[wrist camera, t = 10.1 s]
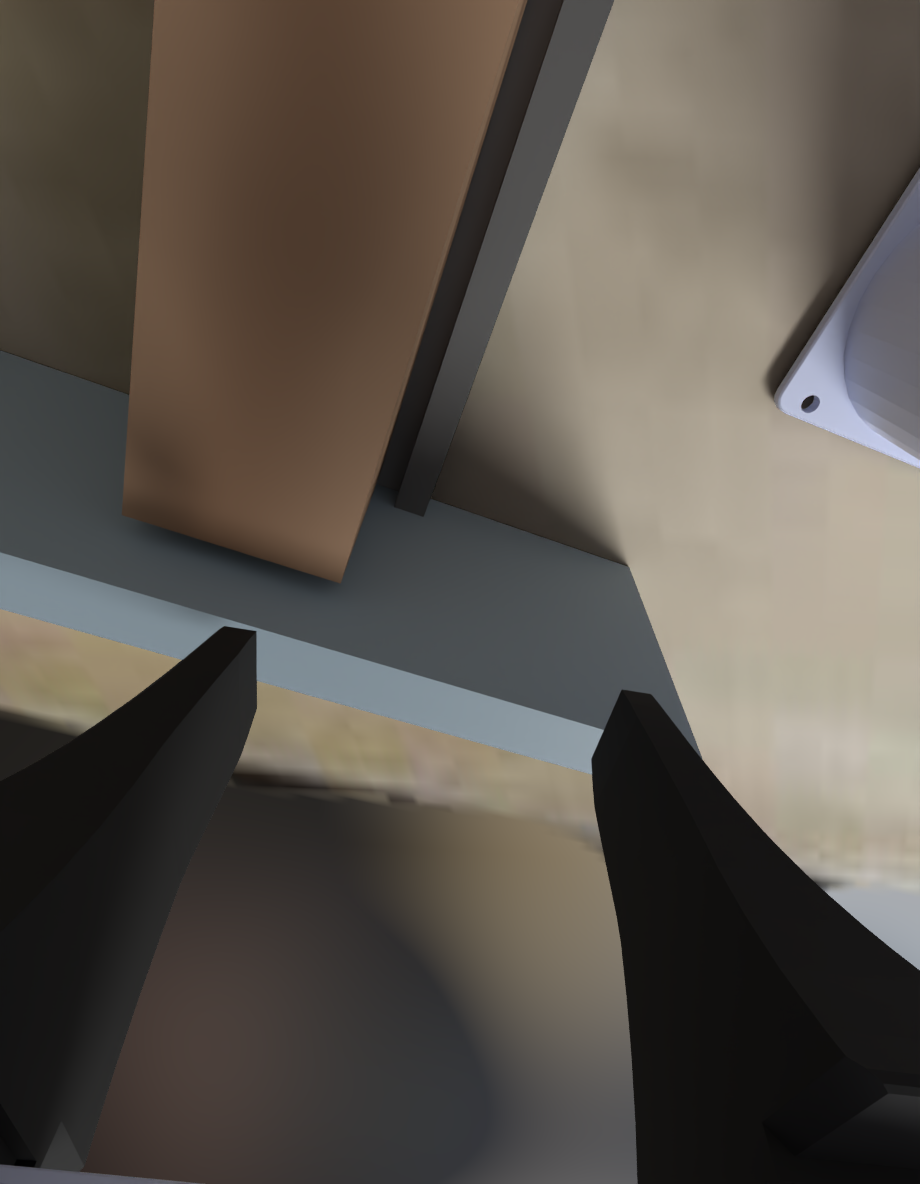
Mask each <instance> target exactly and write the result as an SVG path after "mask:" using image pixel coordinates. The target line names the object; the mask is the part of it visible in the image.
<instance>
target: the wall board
mask: <svg viewBox="0 0 920 1184" xmlns="http://www.w3.org/2000/svg"><path fill="white" fill-rule="evenodd" d="M613 2H614V0H528V1H527V4H526V7H525V10H524V13H523V17H522V20H521V23H520V26H519V30H518V33H517V36H516V39H515V42H514V46H513V49H512V52H511V55H510V58H509V62H508V65H507V68H506V71H505V74H504V78H503V81H502V84H501V87H500V91H499V94H498V97H497V100H496V103H495V107H494V110H493V113H492V116H491V119H490V123H489V126H488V129H487V132H486V135H485V139H484V142H483V145H482V148H481V151H480V155H479V158H478V161H477V164H476V168H475V171H474V174H473V177H472V180H471V184H470V187H469V190H468V193H467V196H466V200H465V203H464V206H463V209H462V212H461V216H460V219H459V222H458V225H457V229H456V232H455V235H454V238H453V241H452V245H451V248H450V251H449V254H448V257H447V261H446V264H445V267H444V270H443V273H442V277H441V280H440V283H439V286H438V290H437V293H436V296H435V299H434V302H433V306H432V309H431V312H430V315H429V318H428V322H427V325H426V328H425V331H424V334H423V338H422V341H421V344H420V347H419V351H418V354H417V357H416V360H415V363H414V367H413V370H412V373H411V376H410V379H409V383H408V386H407V389H406V392H405V395H404V399H403V402H402V405H401V408H400V411H399V415H398V418H397V421H396V424H395V428H394V431H393V434H392V437H391V440H390V444H389V447H388V450H387V453H386V456H385V460H384V463H383V466H382V469H381V472H380V475H379V478H378V480H377V483H376V486H375V489H374V492H373V494H372V497H371V500H370V503H369V506H368V508H367V511H366V514H365V517H364V520H363V522H362V525H361V528H360V531H359V534H358V536H357V539H356V542H355V545H354V547H353V550H352V553H351V556H350V559H349V561H348V564H347V567H346V570H345V573H344V575H343V578H342V581H341V584H340V583H337V582H334V581H331V580H327V579H324V578H321V577H318V576H315V575H311V574H308V573H305V572H302V571H299V570H295V569H292V568H289V567H286V566H283V565H279V564H276V563H273V562H270V561H267V560H264V559H260V558H257V557H254V556H251V555H248V554H244V553H241V552H238V551H235V550H232V549H228V548H225V547H222V546H219V545H216V544H212V543H209V542H206V541H203V540H200V539H196V538H193V537H190V536H187V535H184V534H181V533H177V532H174V531H171V530H168V529H165V528H161V527H158V526H155V525H152V524H149V523H145V522H142V521H139V520H136V519H133V518H129V517H126V516H123V515H122V503H123V488H124V472H125V456H126V441H127V425H128V409H129V395H128V394H125V393H122V392H120V391H117V390H114V389H111V388H108V387H105V386H102V385H99V384H96V383H93V382H91V381H88V380H85V379H82V378H79V377H76V376H73V375H70V374H67V373H64V372H62V371H59V370H56V369H53V368H50V367H47V366H44V365H41V364H38V363H35V362H33V361H30V360H27V359H24V358H21V357H18V356H15V355H12V354H9V353H6V352H4V351H1V350H0V609H3V610H6V611H10V612H13V613H17V614H21V615H24V616H28V617H31V618H35V619H38V620H42V621H46V622H49V623H53V624H56V625H60V626H63V627H67V628H71V629H74V630H78V631H81V632H85V633H88V634H92V635H96V636H99V637H103V638H106V639H110V640H113V641H117V642H121V643H124V644H128V645H131V646H135V647H138V648H142V649H146V650H149V651H153V652H156V653H160V654H163V655H167V656H171V657H174V658H178V659H181V660H183V659H184V658H185V657H187V656H188V655H189V654H190V653H191V652H193V651H194V650H195V649H196V648H197V647H199V646H200V645H201V644H202V643H203V642H204V641H206V640H207V639H208V638H209V637H210V636H212V635H213V634H214V633H215V632H216V631H218V630H219V629H220V628H222V627H224V626H228V627H234V628H240V629H247V630H253V631H257V681H260V682H263V683H267V684H271V685H274V686H278V687H281V688H285V689H288V690H292V691H296V692H299V693H303V694H306V695H310V696H313V697H317V698H321V699H324V700H328V701H331V702H335V703H338V704H342V705H346V706H349V707H353V708H356V709H360V710H363V711H367V712H371V713H374V714H378V715H381V716H385V717H388V718H392V719H396V720H399V721H403V722H406V723H410V724H413V725H417V726H421V727H424V728H428V729H431V730H435V731H438V732H442V733H445V734H449V735H453V736H456V737H460V738H463V739H467V740H470V741H474V742H478V743H481V744H485V745H488V746H492V747H495V748H499V749H503V750H506V751H510V752H513V753H517V754H520V755H524V756H528V757H531V758H535V759H538V760H542V761H545V762H549V763H553V764H556V765H560V766H563V767H567V768H570V769H574V770H578V771H581V772H585V773H588V774H592V763H591V758H592V756H593V754H594V751H595V749H596V747H597V745H598V742H599V740H600V738H601V735H602V733H603V731H604V729H605V726H606V724H607V722H608V719H609V717H610V715H611V713H612V710H613V708H614V706H615V703H616V701H617V699H618V697H619V694H620V692H621V690H622V689H623V690H629V691H635V692H642V693H648V694H652V695H653V697H654V698H655V699H656V700H657V702H658V703H659V704H660V705H661V707H662V708H663V709H664V711H665V712H666V713H667V715H668V716H669V717H670V718H671V720H672V721H673V722H674V724H675V725H676V726H677V728H678V729H679V730H680V732H681V733H682V734H683V735H684V737H685V738H686V739H687V741H688V742H689V743H690V745H691V746H692V747H693V748H694V750H695V751H696V752H697V754H698V755H699V756H700V757H701V754H700V751H699V749H698V746H697V743H696V741H695V738H694V736H693V733H692V730H691V728H690V725H689V723H688V720H687V717H686V715H685V712H684V709H683V707H682V704H681V702H680V699H679V696H678V694H677V691H676V689H675V686H674V683H673V681H672V678H671V675H670V673H669V670H668V668H667V665H666V662H665V660H664V657H663V655H662V652H661V649H660V647H659V644H658V641H657V639H656V636H655V634H654V631H653V628H652V626H651V623H650V621H649V618H648V615H647V613H646V610H645V608H644V605H643V602H642V600H641V597H640V594H639V592H638V589H637V587H636V584H635V581H634V579H633V576H632V574H631V571H630V568H629V567H627V566H624V565H622V564H619V563H616V562H613V561H610V560H607V559H604V558H601V557H598V556H595V555H593V554H590V553H587V552H584V551H581V550H578V549H575V548H572V547H569V546H566V545H564V544H561V543H558V542H555V541H552V540H549V539H546V538H543V537H540V536H537V535H535V534H532V533H529V532H526V531H523V530H520V529H517V528H514V527H511V526H508V525H505V524H503V523H500V522H497V521H494V520H491V519H488V518H485V517H482V516H479V515H476V514H474V513H471V512H468V511H465V510H462V509H459V508H456V507H453V506H450V505H447V504H445V503H442V502H439V501H436V500H433V499H430V498H431V496H432V493H433V490H434V487H435V485H436V482H437V479H438V477H439V474H440V471H441V469H442V466H443V463H444V460H445V458H446V455H447V452H448V450H449V447H450V444H451V441H452V439H453V436H454V433H455V431H456V428H457V425H458V422H459V420H460V417H461V414H462V412H463V409H464V406H465V403H466V401H467V398H468V395H469V393H470V390H471V387H472V384H473V382H474V379H475V376H476V374H477V371H478V368H479V365H480V363H481V360H482V357H483V355H484V352H485V349H486V346H487V344H488V341H489V338H490V336H491V333H492V330H493V327H494V325H495V322H496V319H497V317H498V314H499V311H500V308H501V306H502V303H503V300H504V298H505V295H506V292H507V290H508V287H509V284H510V281H511V279H512V276H513V273H514V271H515V268H516V265H517V262H518V260H519V257H520V254H521V252H522V249H523V246H524V243H525V241H526V238H527V235H528V233H529V230H530V227H531V224H532V222H533V219H534V216H535V214H536V211H537V208H538V205H539V203H540V200H541V197H542V195H543V192H544V189H545V186H546V184H547V181H548V178H549V176H550V173H551V170H552V167H553V165H554V162H555V159H556V157H557V154H558V151H559V148H560V146H561V143H562V140H563V138H564V135H565V132H566V129H567V127H568V124H569V121H570V119H571V116H572V113H573V110H574V108H575V105H576V102H577V100H578V97H579V94H580V92H581V89H582V86H583V83H584V81H585V78H586V75H587V73H588V70H589V67H590V64H591V62H592V59H593V56H594V54H595V51H596V48H597V45H598V43H599V40H600V37H601V35H602V32H603V29H604V26H605V24H606V21H607V18H608V16H609V13H610V10H611V7H612V5H613ZM701 759H702V757H701Z"/></svg>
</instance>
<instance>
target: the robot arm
mask: <svg viewBox="0 0 920 1184" xmlns="http://www.w3.org/2000/svg"><path fill="white" fill-rule="evenodd" d="M811 395H813V396H814V400H813V403H812V404H811V405H810V406H809V407H807V408H805V409H801V404H802V402H803V400H804V399H805V398H806V397H808V396H811ZM774 402H775V405H776V407H777V408H779V409H780V410H781V411H783V412H784V413H785V414H788V415H790V416H793V417H795V418H798V419H800V420H803V421H805V422H807V423H810V424H812V425H815V426H817V427H820V428H822V429H825V430H827V431H829V432H832V433H834V434H837V435H839V436H842V437H844V438H847V439H849V440H851V441H854V442H856V443H859V444H861V445H864V446H866V447H869V448H871V449H873V450H876V451H878V452H881V453H883V454H886V455H888V456H891V457H893V458H895V459H898V460H900V461H903V462H905V463H908V464H910V465H913V466H915V467H917V468H920V168H919V169H918V171H917V173H916V174H915V176H914V177H913V179H912V180H911V182H910V183H909V185H908V187H907V188H906V190H905V191H904V193H903V194H902V196H901V197H900V199H899V201H898V202H897V204H896V205H895V207H894V208H893V210H892V211H891V213H890V215H889V216H888V218H887V219H886V221H885V222H884V224H883V225H882V227H881V229H880V230H879V232H878V233H877V235H876V236H875V238H874V239H873V241H872V243H871V244H870V246H869V247H868V249H867V250H866V252H865V253H864V255H863V257H862V258H861V260H860V261H859V263H858V264H857V266H856V267H855V269H854V271H853V272H852V274H851V275H850V277H849V278H848V280H847V281H846V283H845V285H844V286H843V288H842V289H841V291H840V292H839V294H838V295H837V297H836V299H835V300H834V302H833V303H832V305H831V306H830V308H829V309H828V311H827V312H826V314H825V316H824V317H823V319H822V320H821V322H820V323H819V325H818V326H817V328H816V330H815V331H814V333H813V334H812V336H811V337H810V339H809V340H808V342H807V344H806V345H805V347H804V348H803V350H802V351H801V353H800V354H799V356H798V358H797V359H796V361H795V362H794V364H793V365H792V367H791V368H790V370H789V372H788V373H787V375H786V376H785V378H784V379H783V381H782V382H781V384H780V386H779V387H778V389H777V391H776V393H775V395H774ZM256 709H257V631H253V630H247V629H240V628H234V627H228V626H224V627H222V628H220V629H219V630H218V631H216V632H215V633H214V634H213V635H212V636H210V637H209V638H208V639H207V640H206V641H204V642H203V643H202V644H201V645H200V646H199V647H197V648H196V649H195V650H194V651H193V652H191V653H190V654H189V655H188V656H187V657H185V658H184V659H183V660H182V661H180V662H179V663H178V664H177V665H175V666H174V667H173V668H172V669H171V670H169V671H168V672H167V673H165V674H164V675H163V676H162V677H160V678H159V679H158V680H156V681H155V682H154V683H153V684H151V685H150V686H149V687H147V688H146V689H145V690H143V691H142V692H141V693H140V694H138V695H137V696H136V697H134V698H133V699H132V700H130V701H129V702H127V703H126V704H124V705H123V706H122V707H120V708H119V709H117V710H116V711H114V712H113V713H112V714H110V715H109V716H107V717H106V718H104V719H103V720H102V721H100V722H99V723H97V724H96V725H95V726H93V727H92V728H90V729H88V730H87V731H85V732H84V733H82V734H81V735H79V736H78V737H76V738H75V739H73V740H72V741H70V742H68V743H67V744H65V745H63V746H62V747H60V748H59V749H57V750H55V751H54V752H52V753H50V754H49V755H47V756H45V757H44V758H42V759H40V760H38V761H37V762H35V763H33V764H32V765H30V766H28V767H26V768H25V769H22V770H21V771H19V772H17V773H15V774H14V775H11V776H10V777H8V778H6V779H4V780H2V781H0V1184H201V1183H189V1182H180V1181H169V1180H158V1179H148V1178H137V1177H126V1176H116V1175H106V1174H94V1173H85V1172H84V1173H83V1172H79V1171H80V1170H81V1169H82V1168H83V1167H84V1165H85V1162H86V1159H87V1156H88V1152H89V1149H90V1146H91V1142H92V1139H93V1136H94V1133H95V1130H96V1127H97V1124H98V1120H99V1117H100V1114H101V1111H102V1108H103V1104H104V1101H105V1098H106V1095H107V1092H108V1089H109V1086H110V1082H111V1079H112V1076H113V1073H114V1070H115V1067H116V1064H117V1060H118V1058H119V1055H120V1052H121V1049H122V1046H123V1043H124V1040H125V1037H126V1034H127V1031H128V1028H129V1025H130V1022H131V1019H132V1016H133V1013H134V1010H135V1007H136V1004H137V1001H138V998H139V996H140V993H141V990H142V987H143V984H144V981H145V979H146V975H147V973H148V970H149V967H150V965H151V962H152V959H153V956H154V953H155V950H156V948H157V945H158V942H159V939H160V936H161V934H162V931H163V928H164V925H165V923H166V920H167V918H168V915H169V912H170V909H171V907H172V904H173V901H174V899H175V896H176V893H177V891H178V888H179V885H180V883H181V881H182V878H183V876H184V874H185V871H186V869H187V867H188V865H189V862H190V860H191V858H192V856H193V854H194V852H195V850H196V848H197V846H198V843H199V842H200V839H201V837H202V835H203V833H204V831H205V829H206V827H207V825H208V823H209V821H210V819H211V817H212V815H213V813H214V810H215V809H216V806H217V804H218V802H219V800H220V798H221V796H222V794H223V792H224V790H225V788H226V786H227V784H228V782H229V780H230V777H231V775H232V773H233V771H234V769H235V767H236V765H237V763H238V761H239V758H240V756H241V754H242V751H243V748H244V745H245V742H246V739H247V737H248V734H249V731H250V728H251V725H252V722H253V718H254V715H255V712H256ZM591 763H592V780H593V793H594V805H595V812H596V817H597V822H598V827H599V832H600V837H601V842H602V847H603V852H604V857H605V862H606V866H607V872H608V876H609V881H610V886H611V891H612V895H613V901H614V906H615V910H616V915H617V921H618V927H619V933H620V939H621V947H622V956H623V966H624V976H625V985H626V995H627V1007H628V1018H629V1030H630V1042H631V1055H632V1070H633V1088H634V1104H635V1121H636V1148H637V1177H638V1184H920V970H918V969H917V968H916V967H914V966H913V965H912V964H911V963H909V962H908V961H907V960H905V959H904V958H902V956H900V955H899V954H898V953H896V952H895V951H894V950H892V949H891V948H890V947H889V946H888V945H886V944H885V943H884V942H883V941H881V940H880V939H879V938H878V937H877V936H875V935H874V934H873V933H872V932H870V931H869V930H868V929H867V928H866V927H864V926H863V925H862V924H861V923H860V922H859V921H857V920H856V919H855V918H854V917H853V916H852V915H851V914H850V913H848V912H847V911H846V910H845V909H844V908H843V907H842V906H840V905H839V904H838V903H837V902H836V901H834V899H832V898H831V897H830V896H829V895H828V894H827V893H826V892H825V891H823V890H822V889H821V888H820V887H819V886H818V885H817V884H816V883H815V882H814V881H813V880H812V879H811V878H809V877H808V876H807V875H806V874H805V873H804V872H803V871H802V870H801V869H800V868H799V867H798V866H797V865H796V864H795V863H794V862H793V861H792V860H791V859H790V858H789V857H788V856H787V855H786V854H785V853H784V852H783V851H782V850H781V849H780V848H779V847H778V846H777V845H776V844H775V843H774V842H773V841H772V840H771V839H770V838H769V837H768V836H767V834H766V833H765V832H764V831H763V830H762V829H761V828H760V827H759V826H758V825H757V824H756V823H755V821H754V820H753V819H752V818H751V817H750V816H749V815H748V814H747V812H746V811H745V810H744V809H743V808H742V807H741V806H740V805H739V803H738V802H737V801H736V800H735V799H734V798H733V796H732V795H731V794H730V793H729V792H728V791H727V789H726V788H725V787H724V786H723V785H722V783H721V782H720V781H719V780H718V779H717V777H716V776H715V775H714V774H713V772H712V771H711V770H710V769H709V767H708V766H707V765H706V764H705V762H704V761H703V760H702V759H701V757H700V756H699V755H698V754H697V752H696V751H695V750H694V748H693V747H692V746H691V745H690V743H689V742H688V741H687V739H686V738H685V737H684V735H683V734H682V733H681V732H680V730H679V729H678V728H677V726H676V725H675V724H674V722H673V721H672V720H671V718H670V717H669V716H668V715H667V713H666V712H665V711H664V709H663V708H662V707H661V705H660V704H659V703H658V702H657V700H656V699H655V698H654V697H653V695H652V694H648V693H642V692H635V691H629V690H623V689H622V690H621V692H620V694H619V697H618V699H617V701H616V703H615V706H614V708H613V710H612V713H611V715H610V717H609V719H608V722H607V724H606V726H605V729H604V731H603V733H602V735H601V738H600V740H599V742H598V745H597V747H596V749H595V751H594V754H593V756H592V758H591Z"/></svg>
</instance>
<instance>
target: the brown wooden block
mask: <svg viewBox="0 0 920 1184" xmlns="http://www.w3.org/2000/svg"><path fill="white" fill-rule="evenodd" d="M527 1H528V0H155V1H154V17H153V33H152V48H151V64H150V80H149V95H148V111H147V127H146V143H145V158H144V174H143V190H142V205H141V221H140V237H139V252H138V268H137V284H136V299H135V315H134V331H133V346H132V362H131V378H130V394H129V409H128V425H127V441H126V456H125V472H124V488H123V503H122V515H123V516H126V517H129V518H133V519H136V520H139V521H142V522H145V523H149V524H152V525H155V526H158V527H161V528H165V529H168V530H171V531H174V532H177V533H181V534H184V535H187V536H190V537H193V538H196V539H200V540H203V541H206V542H209V543H212V544H216V545H219V546H222V547H225V548H228V549H232V550H235V551H238V552H241V553H244V554H248V555H251V556H254V557H257V558H260V559H264V560H267V561H270V562H273V563H276V564H279V565H283V566H286V567H289V568H292V569H295V570H299V571H302V572H305V573H308V574H311V575H315V576H318V577H321V578H324V579H327V580H331V581H334V582H337V583H340V584H341V581H342V578H343V575H344V573H345V570H346V567H347V564H348V561H349V559H350V556H351V553H352V550H353V547H354V545H355V542H356V539H357V536H358V534H359V531H360V528H361V525H362V522H363V520H364V517H365V514H366V511H367V508H368V506H369V503H370V500H371V497H372V494H373V492H374V489H375V486H376V483H377V480H378V478H379V475H380V472H381V469H382V466H383V463H384V460H385V456H386V453H387V450H388V447H389V444H390V440H391V437H392V434H393V431H394V428H395V424H396V421H397V418H398V415H399V411H400V408H401V405H402V402H403V399H404V395H405V392H406V389H407V386H408V383H409V379H410V376H411V373H412V370H413V367H414V363H415V360H416V357H417V354H418V351H419V347H420V344H421V341H422V338H423V334H424V331H425V328H426V325H427V322H428V318H429V315H430V312H431V309H432V306H433V302H434V299H435V296H436V293H437V290H438V286H439V283H440V280H441V277H442V273H443V270H444V267H445V264H446V261H447V257H448V254H449V251H450V248H451V245H452V241H453V238H454V235H455V232H456V229H457V225H458V222H459V219H460V216H461V212H462V209H463V206H464V203H465V200H466V196H467V193H468V190H469V187H470V184H471V180H472V177H473V174H474V171H475V168H476V164H477V161H478V158H479V155H480V151H481V148H482V145H483V142H484V139H485V135H486V132H487V129H488V126H489V123H490V119H491V116H492V113H493V110H494V107H495V103H496V100H497V97H498V94H499V91H500V87H501V84H502V81H503V78H504V74H505V71H506V68H507V65H508V62H509V58H510V55H511V52H512V49H513V46H514V42H515V39H516V36H517V33H518V30H519V26H520V23H521V20H522V17H523V13H524V10H525V7H526V4H527Z"/></svg>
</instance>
